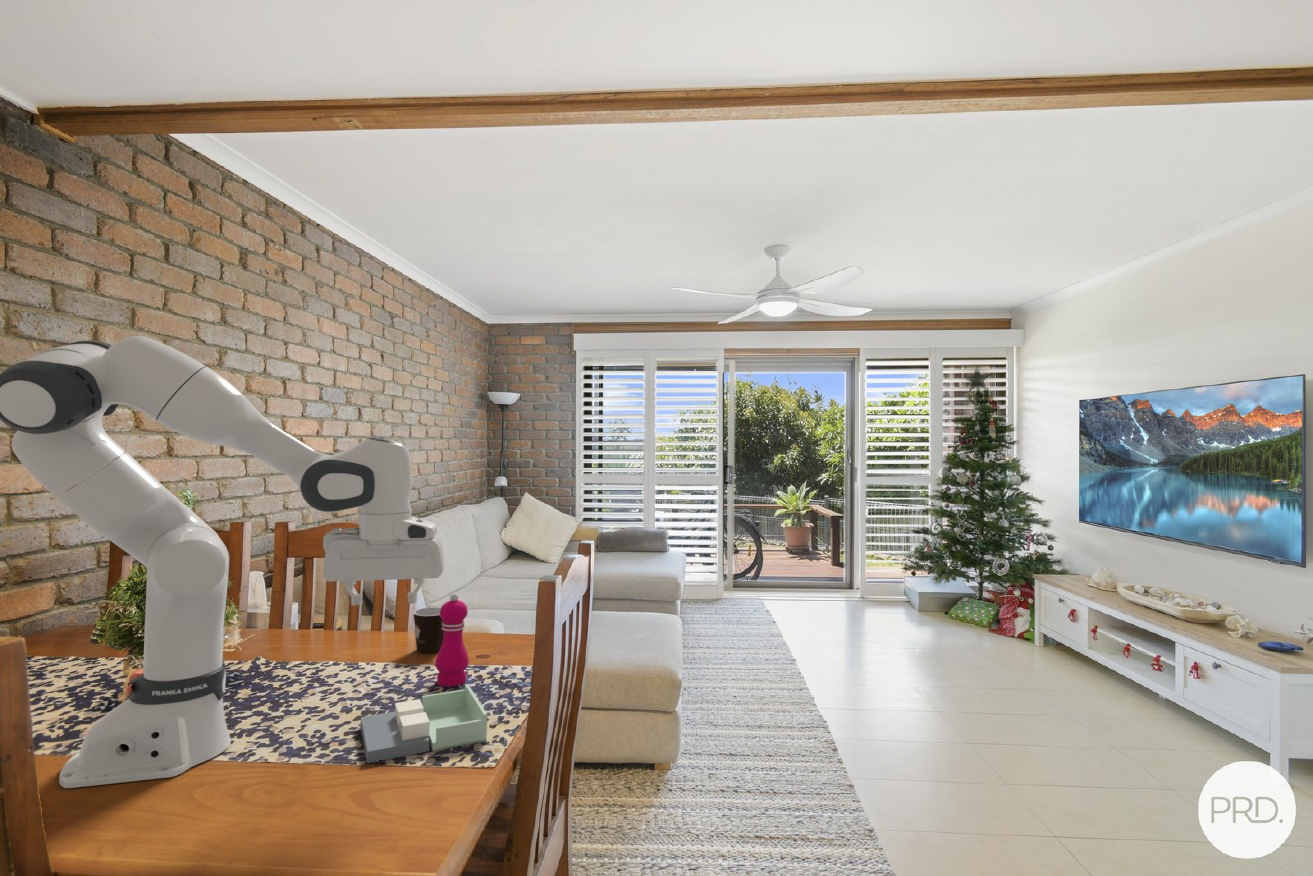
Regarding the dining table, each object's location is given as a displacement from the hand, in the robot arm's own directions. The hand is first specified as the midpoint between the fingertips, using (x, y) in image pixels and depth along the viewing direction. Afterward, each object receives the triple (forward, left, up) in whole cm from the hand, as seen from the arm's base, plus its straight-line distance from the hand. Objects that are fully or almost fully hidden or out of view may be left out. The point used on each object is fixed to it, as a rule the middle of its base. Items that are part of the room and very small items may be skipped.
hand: (384, 603), depth 117 cm
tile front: (+5, -3, -23) cm, 24 cm away
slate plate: (+2, 0, -25) cm, 25 cm away
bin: (+12, 0, -25) cm, 28 cm away
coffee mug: (+16, +47, -25) cm, 56 cm away
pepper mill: (+17, +24, -25) cm, 39 cm away
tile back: (+5, +3, -23) cm, 24 cm away
